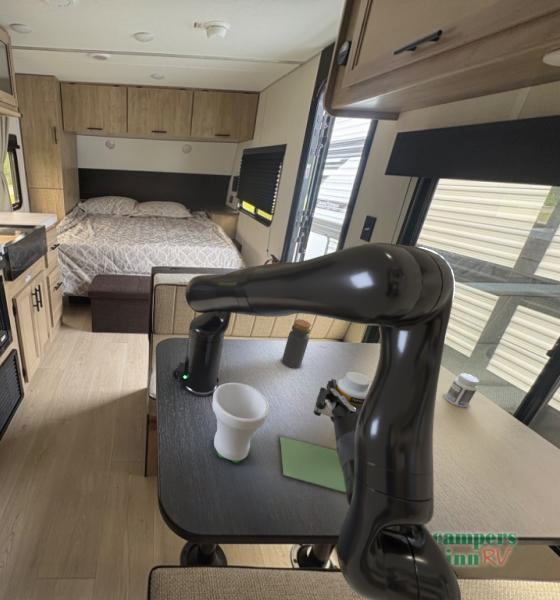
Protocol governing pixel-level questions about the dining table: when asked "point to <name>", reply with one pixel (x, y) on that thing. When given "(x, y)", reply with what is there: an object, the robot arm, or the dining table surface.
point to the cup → (237, 418)
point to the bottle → (296, 344)
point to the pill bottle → (462, 390)
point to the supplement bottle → (353, 388)
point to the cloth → (312, 464)
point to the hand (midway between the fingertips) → (349, 387)
